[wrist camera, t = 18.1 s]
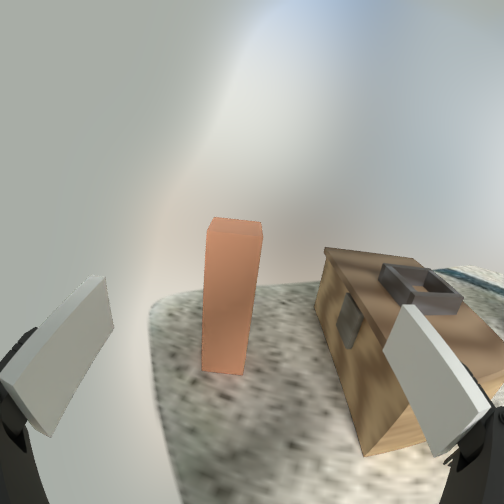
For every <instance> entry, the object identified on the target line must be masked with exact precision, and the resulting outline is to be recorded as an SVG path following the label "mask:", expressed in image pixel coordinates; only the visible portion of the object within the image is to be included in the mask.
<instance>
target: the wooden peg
mask: <svg viewBox="0 0 504 504" xmlns="http://www.w3.org/2000/svg"><path fill="white" fill-rule="evenodd" d="M262 241H263V233H262V226H261V222H255V221H247V220H238V219H228V218H219V217H214V218H213V220H212V222H211V224H210V226H209V228H208V230H207V238H206V253H205V270H204V291H203V319H202V371H208V372H216V373H225V374H235V375H243V371H244V364H245V357H246V351H247V344H248V338H249V331H250V324H251V317H252V311H253V304H254V297H255V290H256V283H257V276H258V269H259V262H260V255H261V248H262Z"/></svg>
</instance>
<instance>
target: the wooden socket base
mask: <svg viewBox="0 0 504 504" xmlns="http://www.w3.org/2000/svg"><path fill="white" fill-rule="evenodd" d="M324 254H325V255H326V261H325V266H324V270H323V274H322V278H321V282H320V286H319V290H318V294H317V298H316V301H315V305H314V308H315V311H316V313H317V316H318V319H319V322H320V324H321V327H322V330H323V333H324V335H325V338H326V341H327V344H328V347H329V350H330V352H331V355H332V358H333V361H334V364H335V367H336V370H337V373H338V376H339V379H340V382H341V385H342V388H343V391H344V394H345V397H346V400H347V403H348V406H349V410H350V413H351V416H352V419H353V422H354V426H355V429H356V432H357V435H358V439H359V442H360V446H361V449H362V452H363V456H364V457H367V456H372V455H377V454H382V453H386V452H390V451H394V450H398V449H402V448H405V447H409V446H412V445H416V444H419V443H422V442H425V441H427V440H426V438H425V436H424V434H423V431H422V429H421V427H420V425H419V423H418V420H417V418H416V416H415V414H414V412H413V410H412V408H411V406H410V403H409V401H408V399H407V397H406V395H405V393H404V391H403V389H402V387H401V385H400V383H399V381H398V379H397V377H396V375H395V373H394V372H393V370H392V368H391V366H390V364H389V362H388V360H387V358H386V356H385V354H384V353H383V351H382V350H383V348H384V346H385V344H386V342H387V339H388V337H389V335H390V333H391V331H392V328H393V326H394V324H395V321H396V319H397V316H398V314H399V311H400V309H401V306H402V304H404V305H415V306H416V307H417V308H418V309H419V310H420V312H421V313H422V314H423V315H424V316H425V318H426V319H427V320H428V321H429V322H430V324H431V325H432V326H433V327H434V328H435V330H436V331H437V332H438V333H439V335H440V336H441V337H442V338H443V340H444V341H445V342H446V344H447V345H448V346H449V347H450V349H451V350H452V351H453V353H454V354H455V355H456V357H457V358H458V359H459V360H460V361H461V362H462V363H463V364H465V365H466V366H467V367H468V368H469V370H470V371H471V372H472V374H473V377H475V378H476V379H477V381H478V384H480V385H481V387H482V388H483V389H484V391H485V392H486V394H487V395H488V397H489V398H490V400H491V399H492V398H493V396H494V395H495V394H496V392H497V391H498V390H499V388H500V387H501V386H502V384H503V383H504V341H503V340H502V339H501V338H500V337H499V336H498V335H497V334H496V333H495V332H494V331H493V330H492V329H491V328H490V327H489V326H488V325H487V324H486V323H485V322H484V321H483V320H482V319H481V318H480V317H479V316H478V315H477V314H476V313H475V312H474V311H473V310H472V309H471V308H470V307H469V306H468V305H467V304H466V303H464V302H463V299H464V297H463V296H462V295H461V294H459V293H458V292H457V291H456V290H455V289H454V288H453V287H451V286H450V285H449V284H448V283H447V282H446V281H444V280H443V279H442V278H441V277H440V276H438V275H437V274H436V273H435V272H434V271H432V270H431V269H429V268H424V267H423V266H422V265H421V264H419V263H418V262H417V261H416V260H414V259H413V258H407V257H398V256H392V255H384V254H376V253H369V252H361V251H353V250H345V249H337V248H329V247H325V249H324Z"/></svg>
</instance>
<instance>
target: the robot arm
mask: <svg viewBox="0 0 504 504" xmlns="http://www.w3.org/2000/svg"><path fill="white" fill-rule="evenodd" d="M113 329H114V325H113V320H112V315H111V310H110V304H109V298H108V292H107V285H106V279H105V277H102V276H96V275H90V276H89V277H88V278H87V279H86V280H85V281H84V282H83V283H82V284H81V285H80V286H79V287H78V288H77V289H76V290H74V291H73V292H72V293H71V294H70V295H69V296H68V297H67V298H66V299H65V300H64V302H62V304H60V305H59V307H57V309H56V310H55V311H54V312H53V313H52V314H51V315H50V316H49V317H48V318H47V319H46V320H45V321H44V322H43V323H42V324H41V325H40V326H39V328H37V327H35V328H33V329H31V330H30V331H28V332H26V333H25V334H24V335H23V336H22V337H21V338H20V340H19V341H18V343H16V344H15V345H14V346H13V347H12V350H10V351H9V352H8V353H7V354H6V356H5V357H4V358H3V359H2V360H1V362H0V504H49V502H48V499H47V497H46V494H45V491H44V488H43V486H42V483H41V480H40V477H39V473H38V470H37V467H36V463H35V460H34V456H33V452H32V448H31V444H30V439H29V434H28V430H27V428H26V426H25V424H26V422H27V420H28V421H29V423H30V424H31V425H32V426H33V428H34V429H35V430H37V431H39V432H40V433H42V434H44V435H46V436H48V437H50V438H51V436H52V434H53V432H54V431H55V428H56V426H57V425H58V423H59V421H60V419H61V417H62V415H63V413H64V411H65V410H66V408H67V406H68V404H69V402H70V400H71V399H72V397H73V395H74V393H75V391H76V390H77V388H78V386H79V384H80V383H81V381H82V379H83V378H84V376H85V374H86V373H87V371H88V369H89V368H90V366H91V364H92V363H93V361H94V359H95V357H96V356H97V354H98V353H99V351H100V349H101V348H102V346H103V345H104V343H105V342H106V340H107V339H108V337H109V335H110V334H111V332H112V331H113ZM382 351H383V353H384V354H385V356H386V358H387V360H388V362H389V364H390V366H391V368H392V370H393V372H394V373H395V375H396V377H397V379H398V381H399V383H400V385H401V387H402V389H403V391H404V393H405V395H406V397H407V399H408V401H409V403H410V406H411V408H412V410H413V412H414V414H415V416H416V418H417V420H418V423H419V425H420V427H421V429H422V431H423V434H424V436H425V438H426V440H427V443H428V445H429V447H430V450H431V452H432V455H433V457H434V458H435V457H437V456H440V455H442V454H445V453H447V452H448V451H450V450H451V449H452V448H453V447H454V446H455V445H456V444H458V446H459V448H458V449H457V450H456V451H455V452H454V453H453V454H452V455H450V456H449V457H448V458H447V459H446V460H445V461H444V463H443V464H444V465H445V464H447V463H448V462H449V461H450V460H451V459H453V461H452V462H450V463H449V464H448V466H450V467H451V468H450V472H449V475H448V479H447V482H446V485H445V488H444V491H443V494H442V497H441V500H440V503H439V504H504V407H502V406H500V407H497V408H496V407H495V406H494V405H493V403H492V401H491V400H490V398H489V397H488V395H487V394H486V392H485V391H484V389H483V388H482V387H481V385H480V384H478V381H477V379H476V378H475V377H473V374H472V372H471V371H470V370H469V368H468V367H467V366H466V365H465V364H463V363H462V362H461V361H460V360H459V359H458V358H457V357H456V355H455V354H454V353H453V351H452V350H451V349H450V347H449V346H448V345H447V344H446V342H445V341H444V340H443V338H442V337H441V336H440V335H439V333H438V332H437V331H436V330H435V328H434V327H433V326H432V325H431V324H430V322H429V321H428V320H427V319H426V318H425V316H424V315H423V314H422V313H421V312H420V310H419V309H418V308H417V307H416V306H415V305H404V304H402V306H401V309H400V311H399V314H398V316H397V319H396V321H395V324H394V326H393V328H392V331H391V333H390V335H389V337H388V339H387V342H386V344H385V346H384V348H383V350H382Z"/></svg>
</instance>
